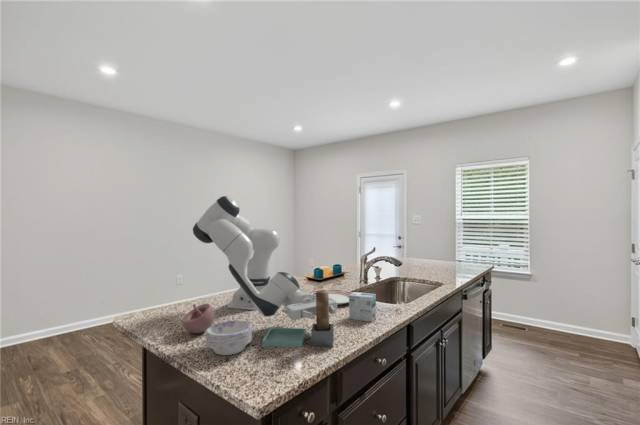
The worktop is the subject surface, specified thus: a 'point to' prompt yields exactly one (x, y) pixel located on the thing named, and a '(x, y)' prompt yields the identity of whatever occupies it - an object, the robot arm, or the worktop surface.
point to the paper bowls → (229, 337)
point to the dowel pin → (322, 310)
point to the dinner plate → (336, 295)
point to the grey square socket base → (322, 336)
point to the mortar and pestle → (199, 318)
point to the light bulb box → (362, 306)
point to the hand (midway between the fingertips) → (323, 313)
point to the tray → (284, 337)
